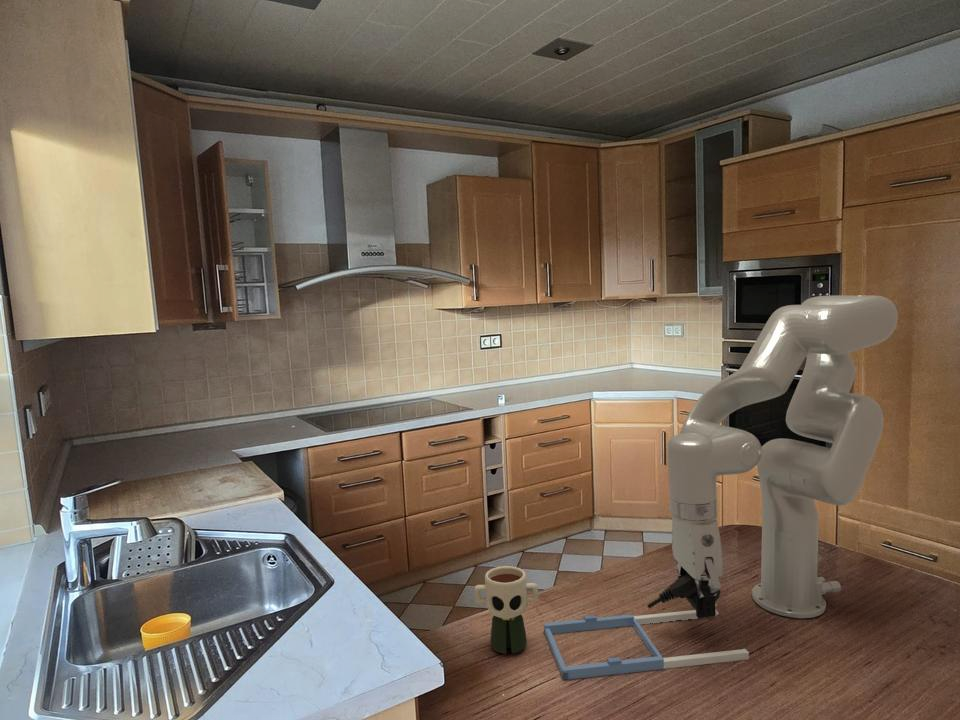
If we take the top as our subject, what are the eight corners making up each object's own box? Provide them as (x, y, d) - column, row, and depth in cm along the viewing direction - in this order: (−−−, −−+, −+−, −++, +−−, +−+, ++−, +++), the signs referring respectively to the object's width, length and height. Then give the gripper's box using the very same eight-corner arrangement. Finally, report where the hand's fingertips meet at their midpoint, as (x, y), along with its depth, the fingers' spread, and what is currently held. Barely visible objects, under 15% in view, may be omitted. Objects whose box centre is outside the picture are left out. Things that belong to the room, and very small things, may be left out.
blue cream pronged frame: (707, 614, 114) (707, 603, 114) (748, 659, 101) (748, 646, 100) (544, 631, 111) (543, 620, 111) (563, 680, 97) (563, 667, 97)
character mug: (476, 659, 103) (472, 584, 102) (478, 636, 110) (474, 566, 109) (541, 657, 103) (538, 582, 102) (539, 634, 110) (535, 564, 109)
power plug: (645, 594, 112) (700, 560, 108) (671, 627, 112) (728, 594, 108) (645, 611, 106) (704, 576, 103) (673, 646, 106) (733, 611, 103)
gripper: (741, 524, 96) (743, 631, 99) (691, 487, 113) (694, 579, 116) (695, 530, 95) (699, 637, 98) (651, 492, 112) (655, 584, 115)
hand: (696, 605), depth 107 cm, fingers closed on power plug, 5 cm apart
